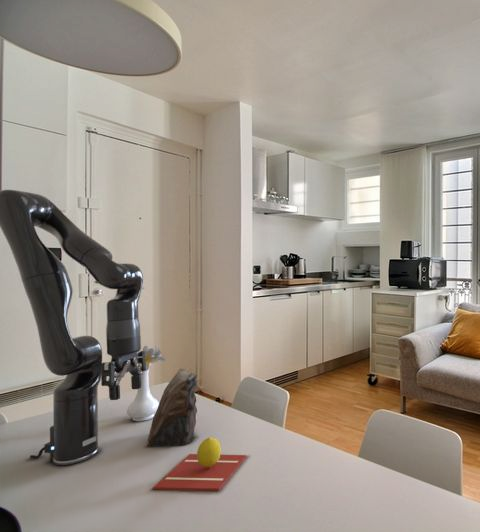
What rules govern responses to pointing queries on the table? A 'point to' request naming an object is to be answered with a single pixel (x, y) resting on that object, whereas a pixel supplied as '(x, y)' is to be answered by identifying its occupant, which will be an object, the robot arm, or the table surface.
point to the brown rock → (175, 412)
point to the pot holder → (200, 474)
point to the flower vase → (145, 390)
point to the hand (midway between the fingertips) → (126, 394)
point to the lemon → (208, 452)
